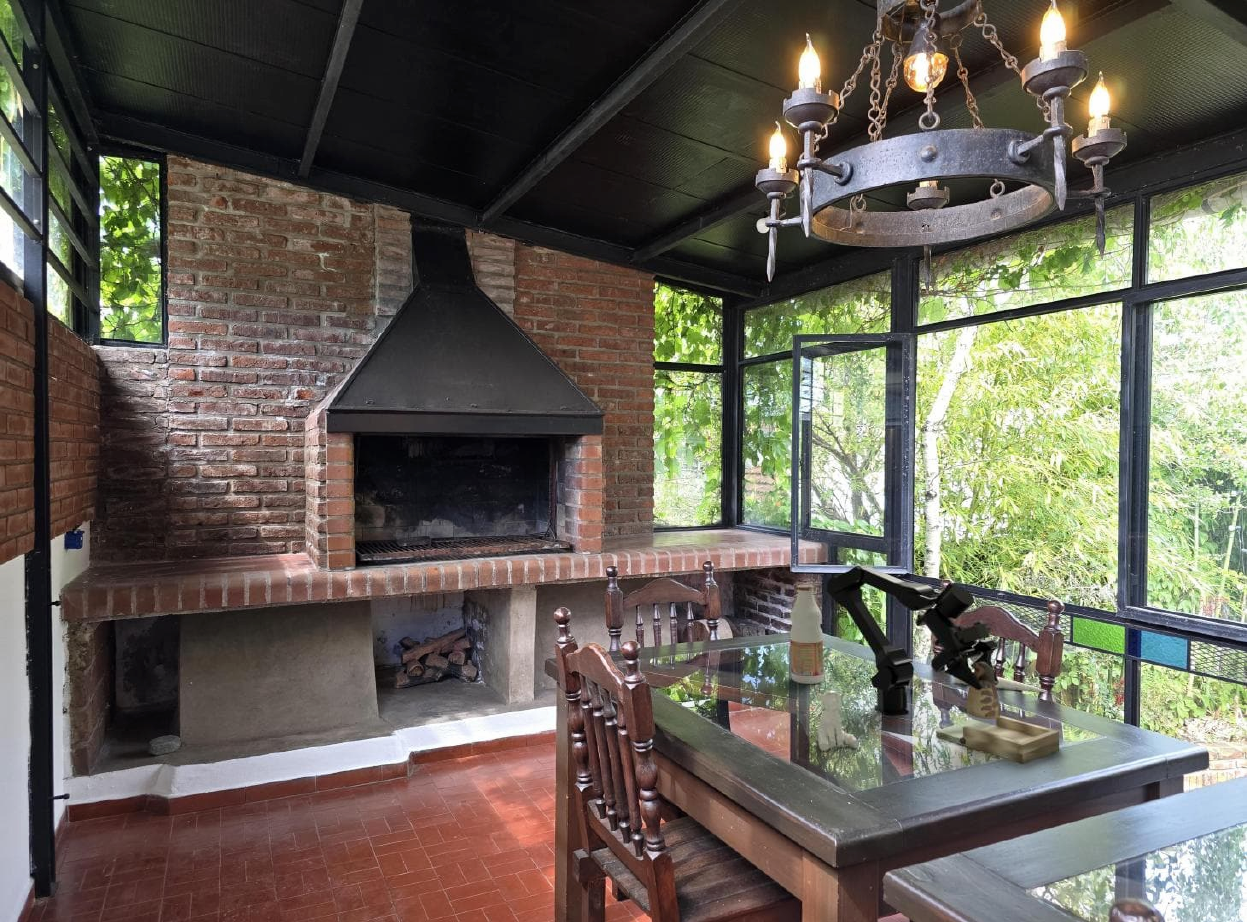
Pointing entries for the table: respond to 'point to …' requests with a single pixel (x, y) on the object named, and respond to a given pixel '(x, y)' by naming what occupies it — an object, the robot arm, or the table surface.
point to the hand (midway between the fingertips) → (988, 686)
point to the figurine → (984, 694)
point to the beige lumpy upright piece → (833, 724)
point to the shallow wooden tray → (1004, 738)
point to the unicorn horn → (1008, 685)
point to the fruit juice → (806, 638)
